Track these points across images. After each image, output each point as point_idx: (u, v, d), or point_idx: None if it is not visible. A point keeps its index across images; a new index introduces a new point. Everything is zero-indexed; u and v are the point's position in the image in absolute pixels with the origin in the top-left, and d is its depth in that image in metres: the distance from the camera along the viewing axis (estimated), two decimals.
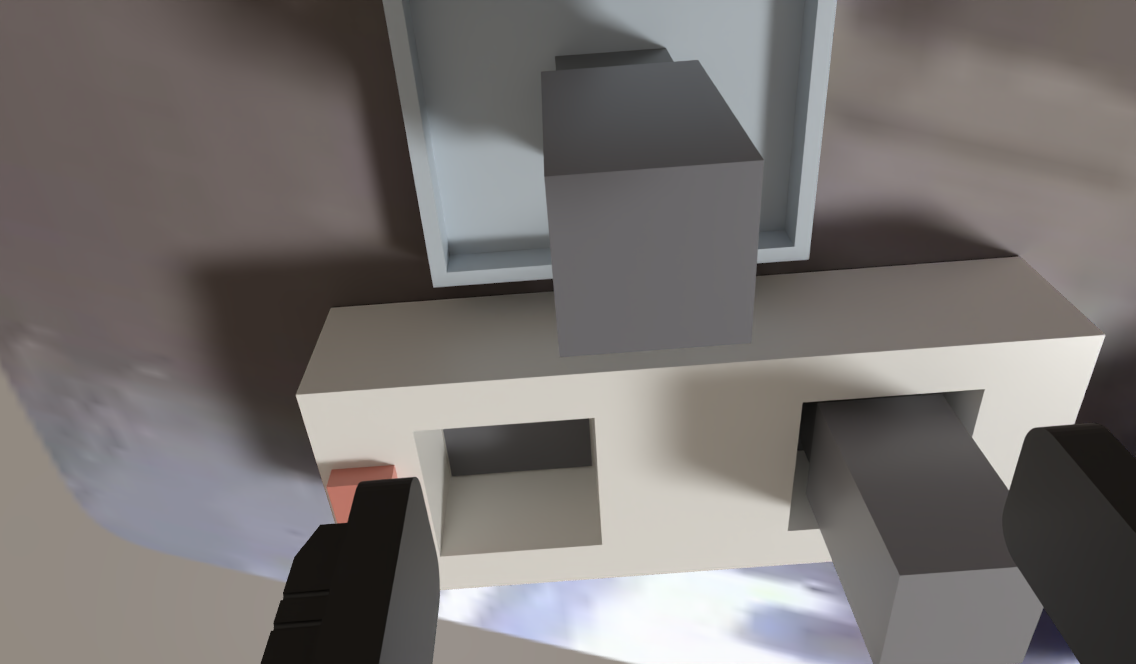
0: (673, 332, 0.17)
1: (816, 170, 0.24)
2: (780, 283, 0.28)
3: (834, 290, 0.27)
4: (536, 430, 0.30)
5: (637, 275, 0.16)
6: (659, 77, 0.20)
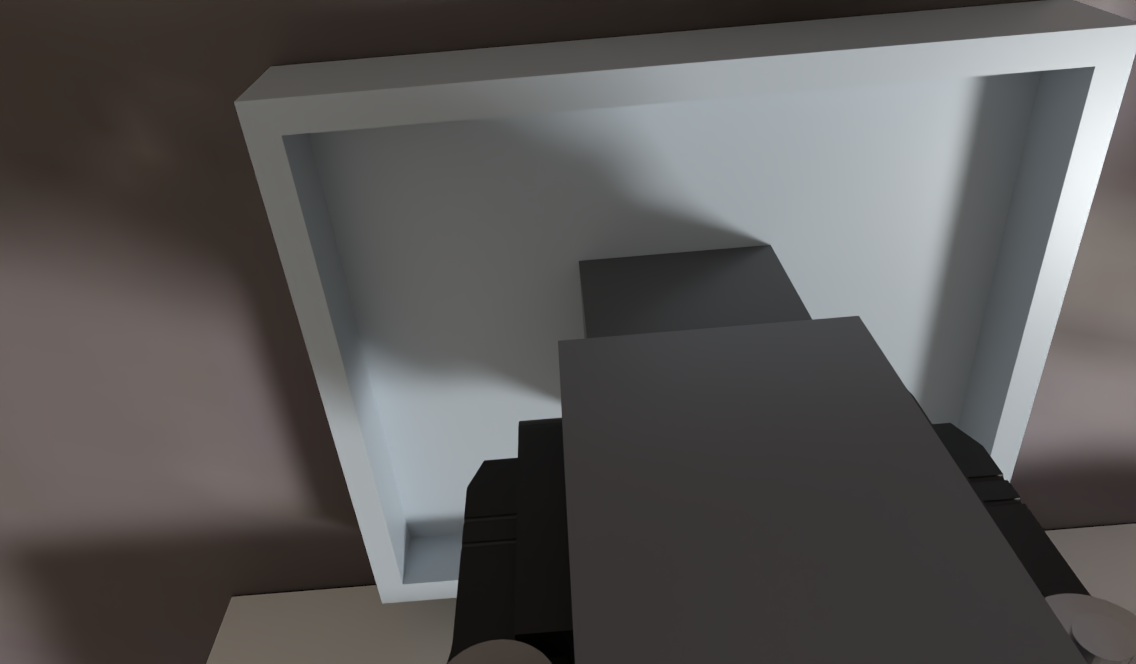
0: None
1: (1020, 436, 0.14)
2: None
3: None
4: None
5: None
6: (799, 380, 0.10)
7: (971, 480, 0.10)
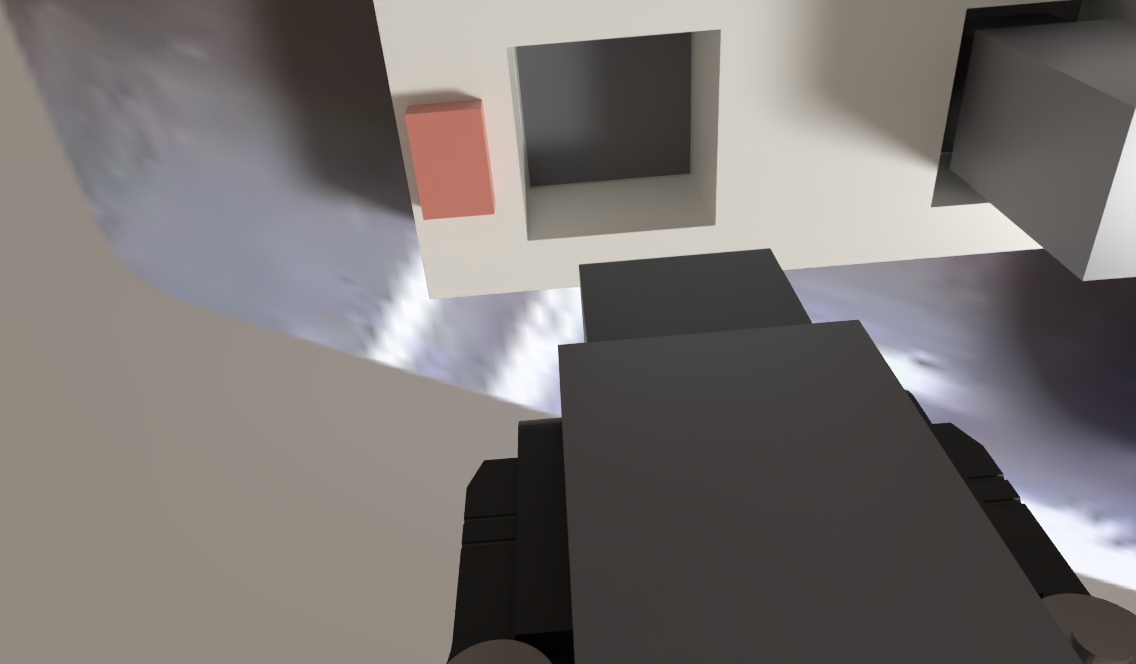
0: None
1: None
2: None
3: None
4: (629, 123, 0.27)
5: None
6: (799, 385, 0.10)
7: (971, 480, 0.10)
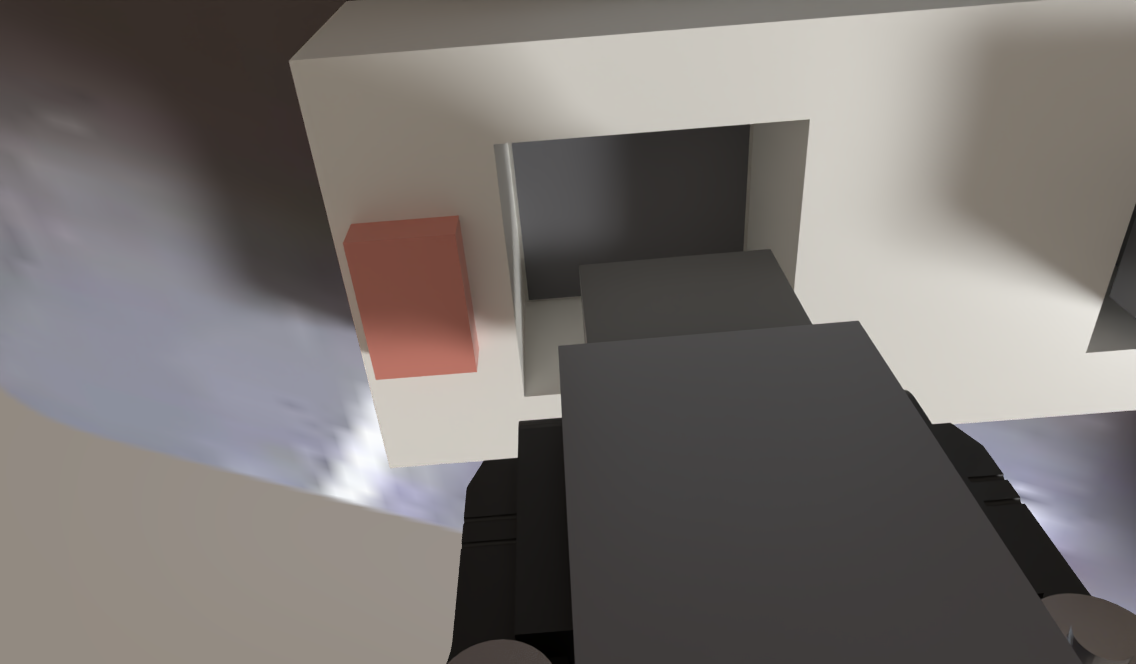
0: None
1: None
2: None
3: None
4: (662, 220, 0.20)
5: None
6: (799, 385, 0.10)
7: (971, 480, 0.10)
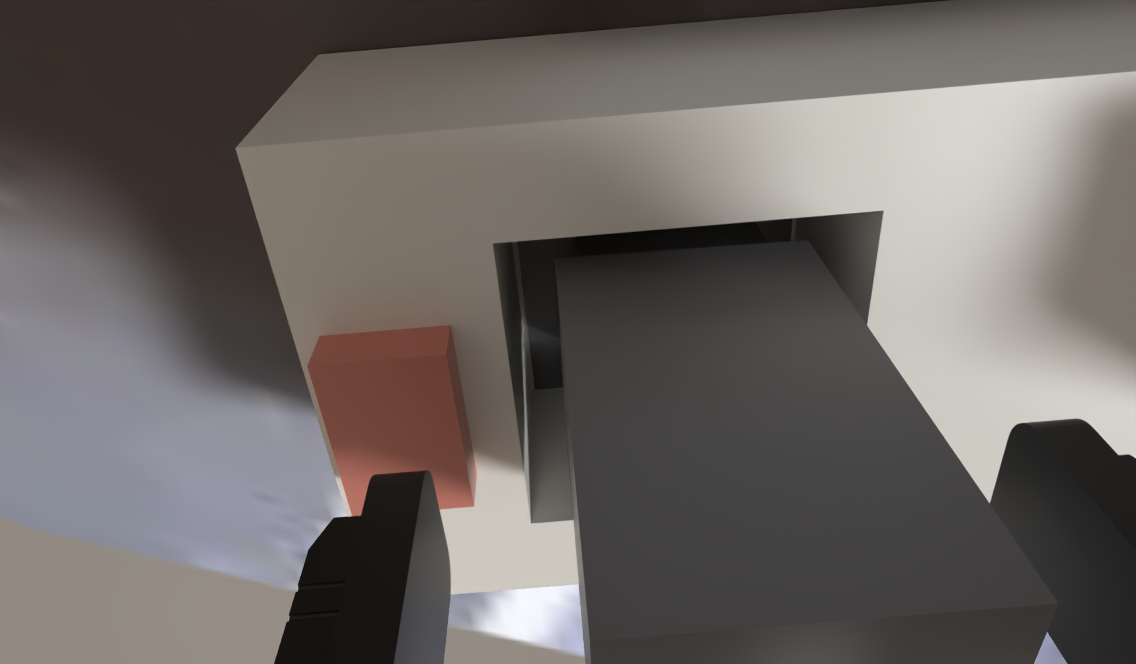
0: None
1: None
2: None
3: None
4: None
5: None
6: (756, 285, 0.12)
7: None
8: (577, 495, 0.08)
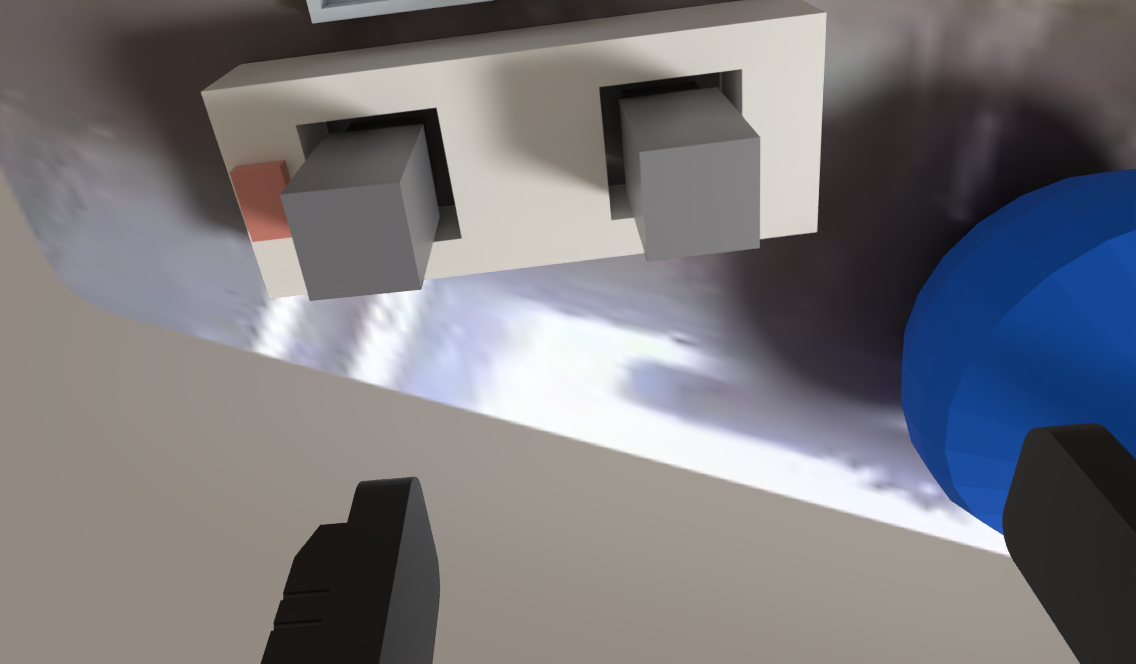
0: (373, 283, 0.29)
1: None
2: (594, 21, 0.35)
3: (634, 19, 0.34)
4: None
5: (344, 249, 0.28)
6: (390, 136, 0.32)
7: None
8: (293, 177, 0.29)
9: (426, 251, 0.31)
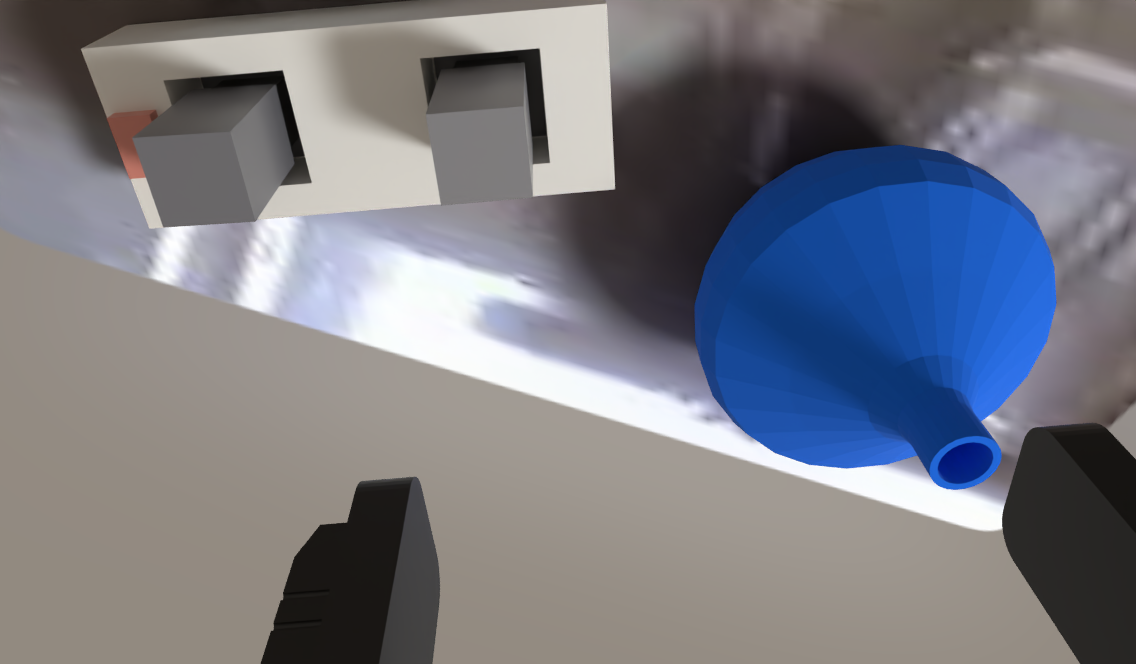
0: (215, 215, 0.35)
1: None
2: (430, 1, 0.41)
3: (461, 1, 0.40)
4: None
5: (188, 185, 0.34)
6: (243, 93, 0.38)
7: None
8: None
9: (268, 191, 0.37)
